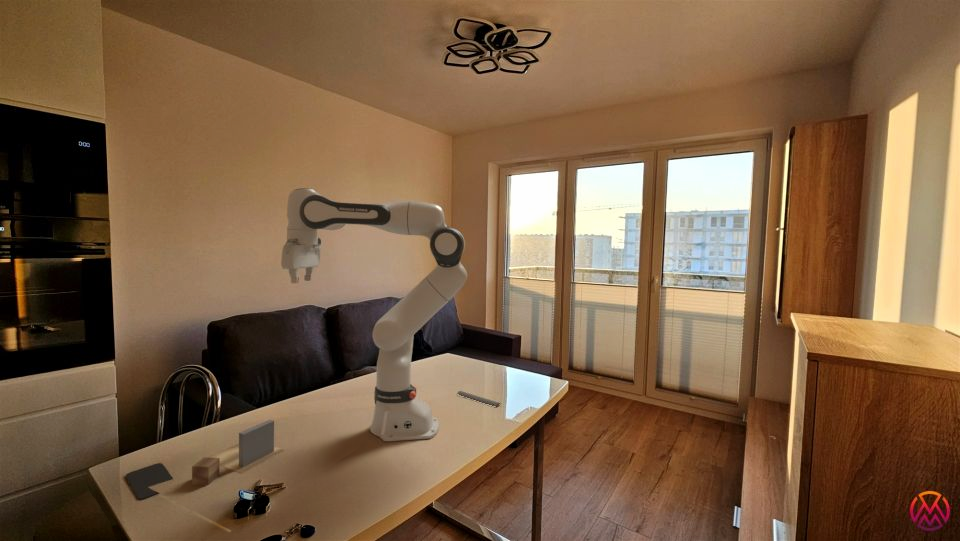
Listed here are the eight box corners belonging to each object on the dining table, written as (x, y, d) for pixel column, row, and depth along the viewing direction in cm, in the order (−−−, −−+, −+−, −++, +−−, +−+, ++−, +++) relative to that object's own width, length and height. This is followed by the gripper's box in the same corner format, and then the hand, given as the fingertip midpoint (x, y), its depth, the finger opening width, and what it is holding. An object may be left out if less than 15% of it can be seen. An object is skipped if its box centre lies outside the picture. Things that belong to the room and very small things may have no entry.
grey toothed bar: (495, 409, 146) (495, 404, 146) (455, 396, 157) (456, 392, 157) (501, 405, 150) (501, 401, 149) (462, 393, 161) (462, 389, 161)
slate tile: (273, 451, 109) (274, 421, 108) (243, 467, 101) (243, 434, 100) (269, 450, 110) (269, 419, 109) (238, 465, 101) (238, 432, 101)
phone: (138, 500, 87) (123, 474, 96) (138, 503, 87) (123, 477, 96) (178, 484, 93) (161, 461, 102) (178, 488, 93) (161, 464, 102)
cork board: (285, 451, 110) (285, 450, 110) (241, 475, 98) (241, 473, 98) (250, 439, 116) (250, 438, 116) (205, 460, 104) (205, 458, 104)
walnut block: (219, 476, 97) (219, 457, 97) (208, 486, 93) (208, 466, 93) (203, 476, 97) (203, 457, 97) (192, 486, 93) (192, 466, 93)
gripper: (297, 238, 113) (296, 285, 113) (324, 240, 133) (323, 279, 134) (275, 237, 113) (275, 284, 113) (305, 239, 133) (305, 279, 134)
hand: (301, 281), depth 124 cm, fingers open, 8 cm apart
